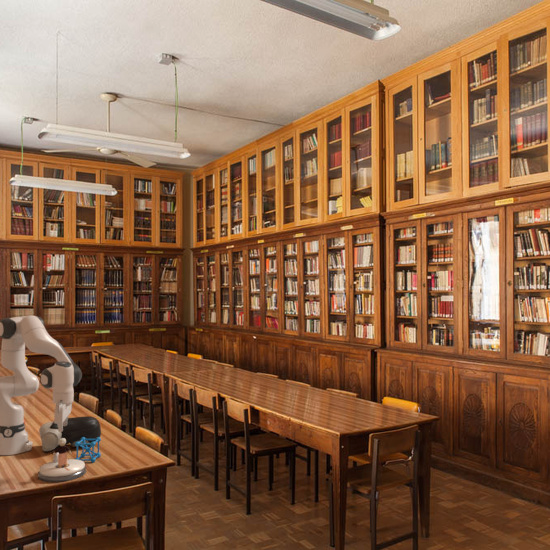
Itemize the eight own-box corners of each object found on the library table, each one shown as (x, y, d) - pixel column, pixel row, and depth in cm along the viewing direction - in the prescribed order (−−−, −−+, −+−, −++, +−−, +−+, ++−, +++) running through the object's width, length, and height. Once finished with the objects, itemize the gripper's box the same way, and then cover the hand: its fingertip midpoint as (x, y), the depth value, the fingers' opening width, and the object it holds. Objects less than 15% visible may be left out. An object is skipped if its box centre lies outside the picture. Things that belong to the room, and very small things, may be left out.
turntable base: (44, 468, 245) (44, 463, 245) (89, 465, 249) (89, 461, 249) (32, 483, 226) (32, 479, 226) (81, 480, 229) (81, 476, 229)
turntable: (33, 468, 238) (33, 456, 238) (75, 459, 251) (75, 448, 251) (48, 480, 224) (48, 467, 224) (91, 469, 237) (91, 457, 237)
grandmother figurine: (69, 463, 240) (69, 435, 240) (72, 466, 237) (72, 437, 237) (51, 467, 235) (52, 438, 236) (54, 469, 232) (54, 440, 233)
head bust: (42, 461, 261) (104, 447, 274) (38, 427, 261) (100, 414, 274) (41, 449, 281) (99, 436, 294) (38, 418, 281) (96, 406, 293)
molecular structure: (101, 456, 262) (101, 436, 263) (94, 463, 252) (94, 442, 253) (81, 456, 262) (81, 436, 263) (73, 463, 252) (74, 442, 253)
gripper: (66, 403, 229) (65, 434, 228) (74, 393, 249) (74, 422, 248) (50, 403, 227) (50, 435, 227) (60, 393, 247) (60, 422, 247)
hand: (62, 428), depth 238 cm, fingers open, 8 cm apart
